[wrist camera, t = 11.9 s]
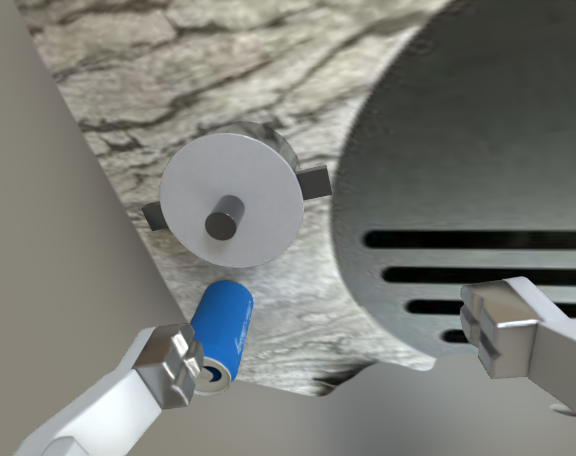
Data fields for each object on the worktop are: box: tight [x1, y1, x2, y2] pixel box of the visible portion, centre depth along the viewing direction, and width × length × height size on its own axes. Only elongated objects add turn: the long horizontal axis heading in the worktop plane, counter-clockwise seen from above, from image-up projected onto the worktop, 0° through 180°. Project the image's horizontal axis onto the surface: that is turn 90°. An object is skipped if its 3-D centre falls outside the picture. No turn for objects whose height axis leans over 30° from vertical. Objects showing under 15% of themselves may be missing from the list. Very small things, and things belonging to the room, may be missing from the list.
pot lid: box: [160, 133, 303, 268], centre depth 25 cm, size 12×12×5 cm
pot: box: [141, 121, 332, 231], centre depth 30 cm, size 12×17×7 cm
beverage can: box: [190, 280, 253, 396], centre depth 35 cm, size 6×6×12 cm
